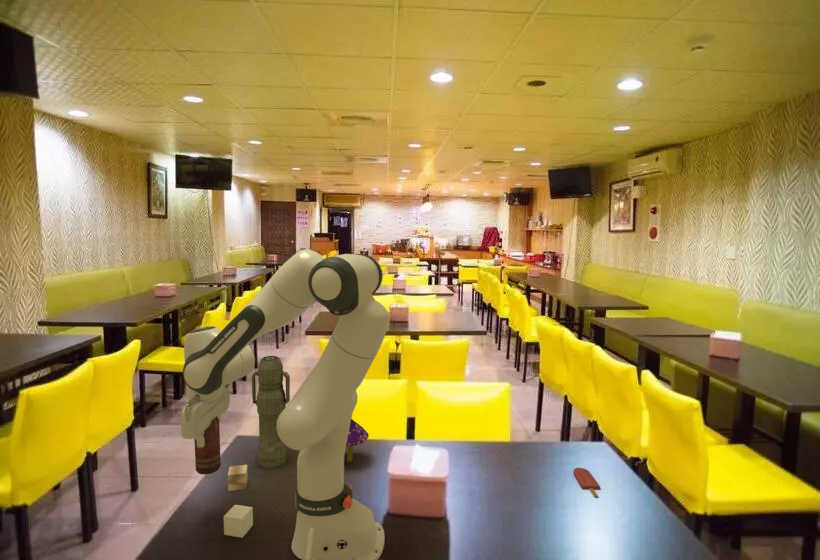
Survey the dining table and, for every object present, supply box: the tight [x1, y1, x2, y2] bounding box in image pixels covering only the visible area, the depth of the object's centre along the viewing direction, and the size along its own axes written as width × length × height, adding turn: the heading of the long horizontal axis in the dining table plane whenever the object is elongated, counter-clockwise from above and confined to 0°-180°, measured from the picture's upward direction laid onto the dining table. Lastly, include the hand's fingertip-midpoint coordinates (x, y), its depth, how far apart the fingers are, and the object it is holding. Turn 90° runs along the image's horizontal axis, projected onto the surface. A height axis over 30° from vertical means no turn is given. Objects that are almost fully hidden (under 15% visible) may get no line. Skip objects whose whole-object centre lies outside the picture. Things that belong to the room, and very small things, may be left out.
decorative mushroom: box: [346, 418, 370, 463], centre depth 152 cm, size 12×12×15 cm
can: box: [193, 417, 222, 476], centre depth 122 cm, size 6×6×14 cm
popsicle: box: [573, 467, 601, 498], centre depth 141 cm, size 5×2×15 cm
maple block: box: [227, 464, 249, 492], centre depth 138 cm, size 5×5×5 cm
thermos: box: [251, 355, 291, 470], centre depth 150 cm, size 9×12×35 cm
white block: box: [223, 504, 254, 538], centre depth 118 cm, size 5×5×5 cm
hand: (208, 439), depth 122 cm, fingers closed on can, 6 cm apart
